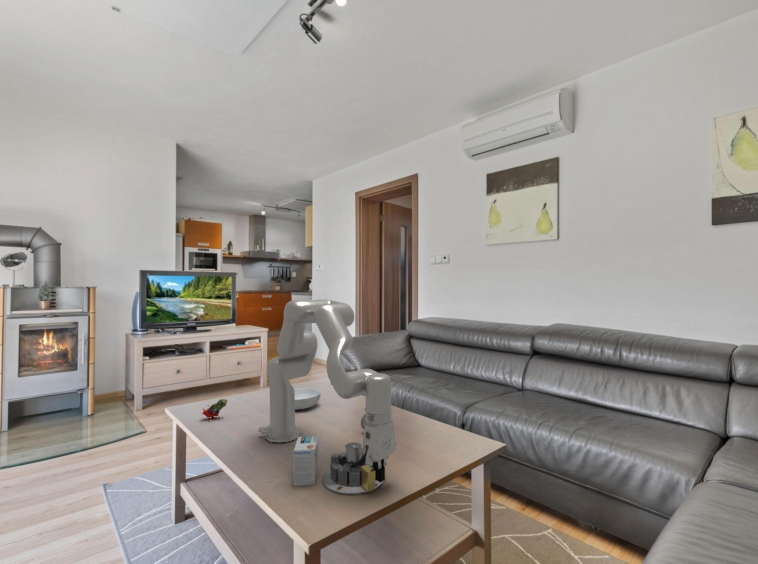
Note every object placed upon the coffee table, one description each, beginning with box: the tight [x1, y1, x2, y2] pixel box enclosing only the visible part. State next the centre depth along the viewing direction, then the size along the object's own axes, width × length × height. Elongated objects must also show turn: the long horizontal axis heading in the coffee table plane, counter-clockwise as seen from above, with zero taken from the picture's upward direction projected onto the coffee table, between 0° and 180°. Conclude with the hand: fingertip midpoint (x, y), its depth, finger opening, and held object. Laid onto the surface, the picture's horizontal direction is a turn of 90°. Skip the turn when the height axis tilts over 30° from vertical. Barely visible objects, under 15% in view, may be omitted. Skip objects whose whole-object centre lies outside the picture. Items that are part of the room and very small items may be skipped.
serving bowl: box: [293, 387, 322, 411], centre depth 189 cm, size 21×21×7 cm
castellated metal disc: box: [329, 447, 375, 491], centre depth 117 cm, size 17×14×5 cm
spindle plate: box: [321, 441, 385, 496], centre depth 118 cm, size 19×19×10 cm
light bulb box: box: [292, 435, 319, 487], centre depth 119 cm, size 11×7×11 cm, turn 5°
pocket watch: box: [360, 407, 366, 430], centre depth 154 cm, size 8×8×10 cm
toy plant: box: [202, 398, 228, 419], centre depth 171 cm, size 8×10×12 cm
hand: (379, 479), depth 112 cm, fingers closed
